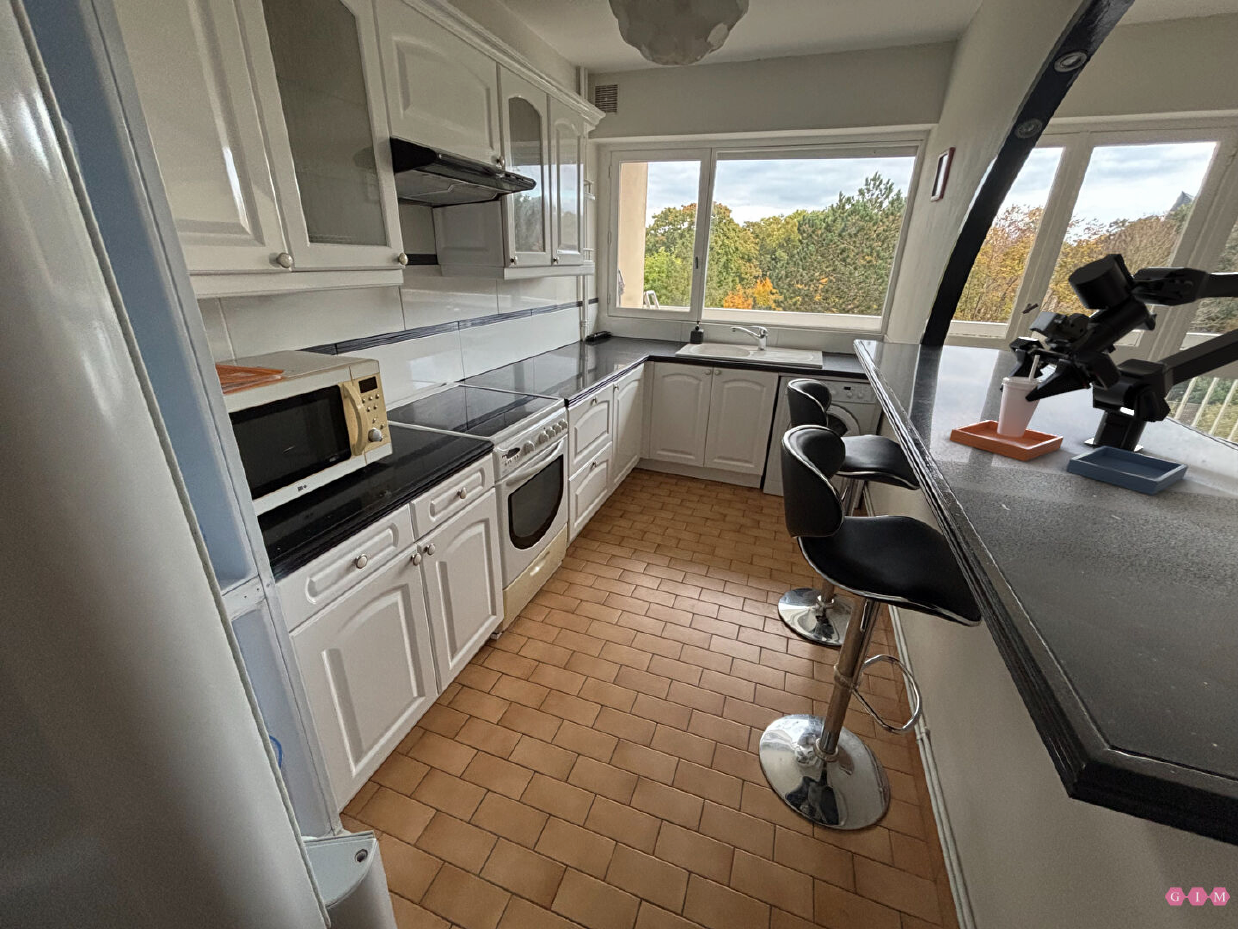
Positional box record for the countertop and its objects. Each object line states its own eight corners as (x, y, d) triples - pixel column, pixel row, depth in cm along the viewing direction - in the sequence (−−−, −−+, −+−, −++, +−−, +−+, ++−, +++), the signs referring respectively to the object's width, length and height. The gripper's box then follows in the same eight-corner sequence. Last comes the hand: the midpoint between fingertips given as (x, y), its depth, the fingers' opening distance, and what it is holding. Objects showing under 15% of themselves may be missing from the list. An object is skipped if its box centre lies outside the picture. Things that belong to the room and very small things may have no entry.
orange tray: (985, 429, 100) (988, 419, 99) (1059, 448, 90) (1064, 437, 89) (948, 440, 94) (951, 429, 93) (1024, 461, 84) (1028, 449, 83)
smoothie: (1028, 442, 86) (1055, 359, 81) (984, 433, 90) (1006, 355, 85) (1035, 433, 90) (1060, 354, 85) (992, 426, 95) (1014, 350, 89)
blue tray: (1099, 457, 86) (1104, 445, 86) (1183, 477, 78) (1188, 465, 77) (1065, 471, 80) (1070, 458, 79) (1152, 495, 72) (1158, 482, 71)
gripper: (1035, 290, 90) (956, 352, 94) (1129, 297, 73) (1027, 373, 77) (1066, 336, 93) (988, 394, 97) (1164, 353, 75) (1063, 423, 80)
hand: (1013, 395), depth 88 cm, fingers closed on smoothie, 6 cm apart
